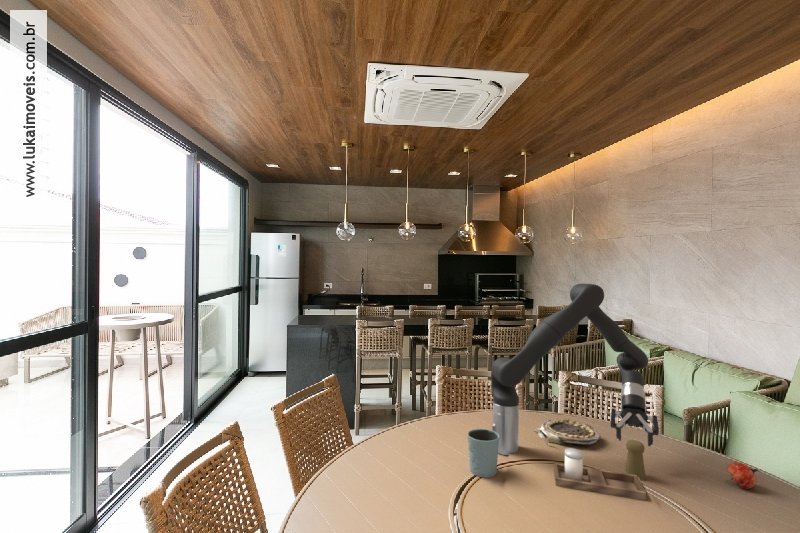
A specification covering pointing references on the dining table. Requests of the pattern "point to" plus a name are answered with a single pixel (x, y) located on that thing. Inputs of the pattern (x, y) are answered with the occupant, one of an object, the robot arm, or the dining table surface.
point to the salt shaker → (573, 464)
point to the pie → (568, 432)
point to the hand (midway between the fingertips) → (634, 442)
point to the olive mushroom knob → (635, 459)
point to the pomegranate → (742, 475)
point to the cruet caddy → (602, 482)
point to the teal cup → (483, 452)
